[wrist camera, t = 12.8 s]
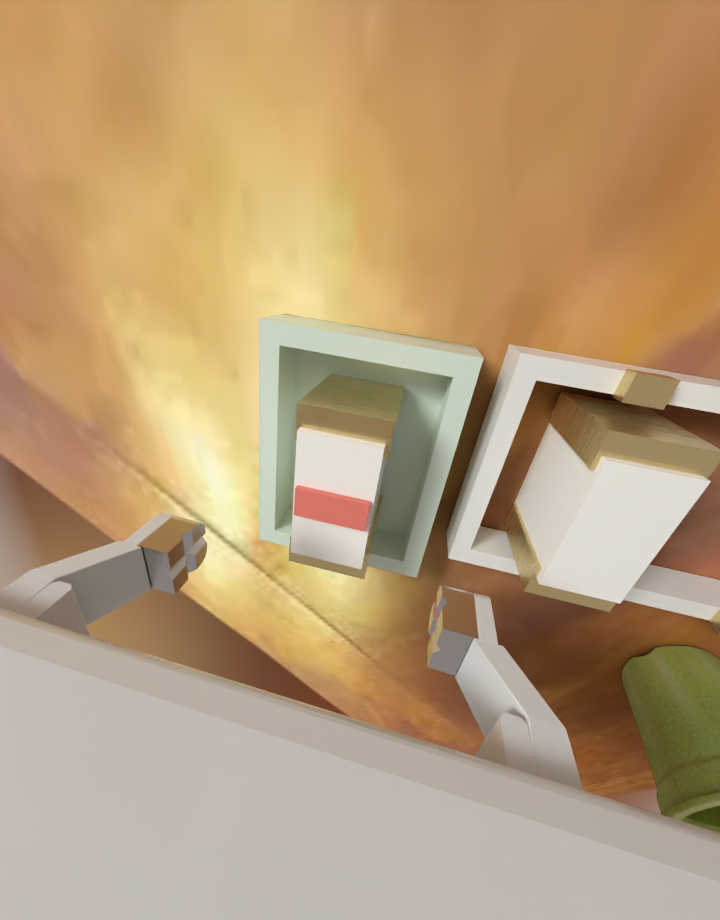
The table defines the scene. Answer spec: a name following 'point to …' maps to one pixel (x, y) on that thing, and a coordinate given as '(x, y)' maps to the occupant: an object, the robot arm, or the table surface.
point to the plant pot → (680, 728)
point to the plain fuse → (603, 499)
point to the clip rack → (498, 432)
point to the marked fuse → (341, 471)
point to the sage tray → (416, 435)
